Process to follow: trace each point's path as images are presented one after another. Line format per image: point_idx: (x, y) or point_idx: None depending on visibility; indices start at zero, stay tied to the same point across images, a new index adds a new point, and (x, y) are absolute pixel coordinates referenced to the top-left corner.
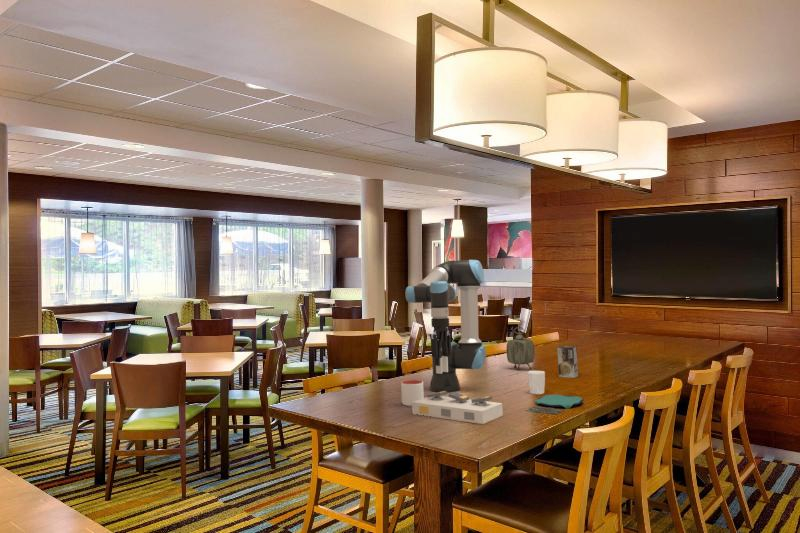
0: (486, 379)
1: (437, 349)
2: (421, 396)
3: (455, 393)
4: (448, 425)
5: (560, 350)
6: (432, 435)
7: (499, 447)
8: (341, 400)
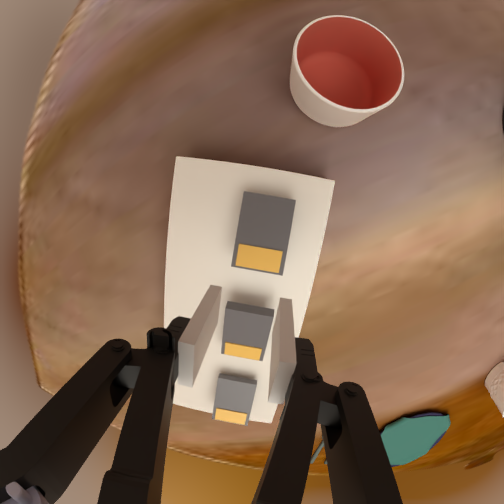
0: None
1: (106, 425)
2: (332, 121)
3: (256, 322)
4: (126, 316)
5: None
6: (58, 307)
7: None
8: None
